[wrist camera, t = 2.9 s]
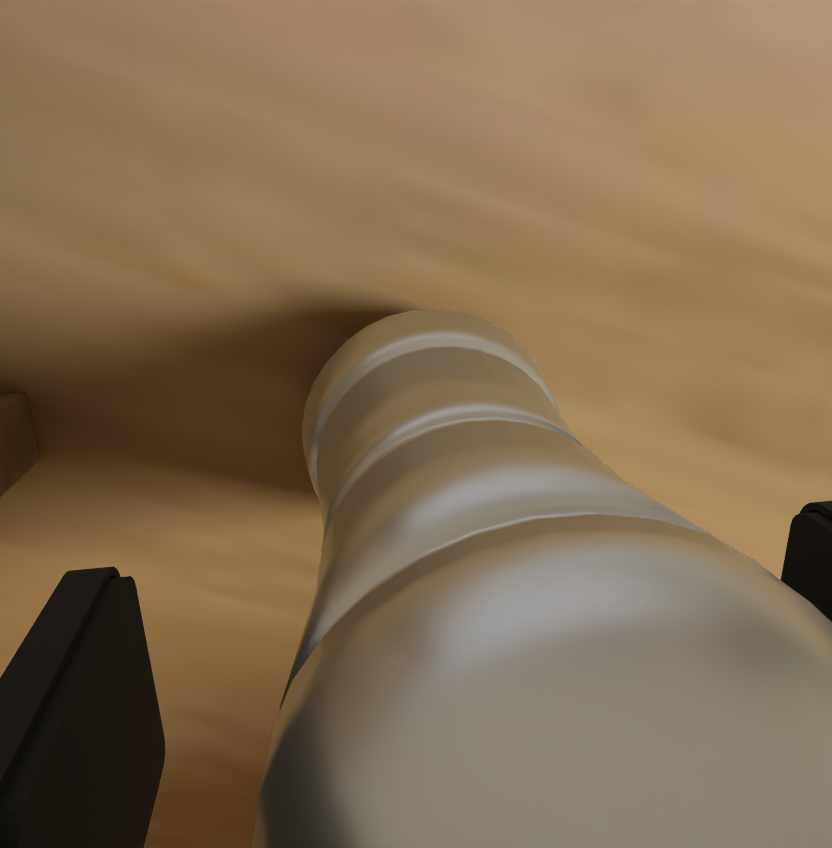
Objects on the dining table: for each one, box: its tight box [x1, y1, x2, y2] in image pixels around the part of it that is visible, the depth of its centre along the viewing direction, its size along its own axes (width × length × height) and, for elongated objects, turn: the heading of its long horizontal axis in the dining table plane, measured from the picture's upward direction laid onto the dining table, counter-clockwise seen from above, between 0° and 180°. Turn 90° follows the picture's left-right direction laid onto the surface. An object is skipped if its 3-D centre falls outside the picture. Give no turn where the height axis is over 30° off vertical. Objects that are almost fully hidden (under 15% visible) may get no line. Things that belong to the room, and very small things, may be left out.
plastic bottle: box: [252, 310, 832, 848], centre depth 12 cm, size 6×7×20 cm
